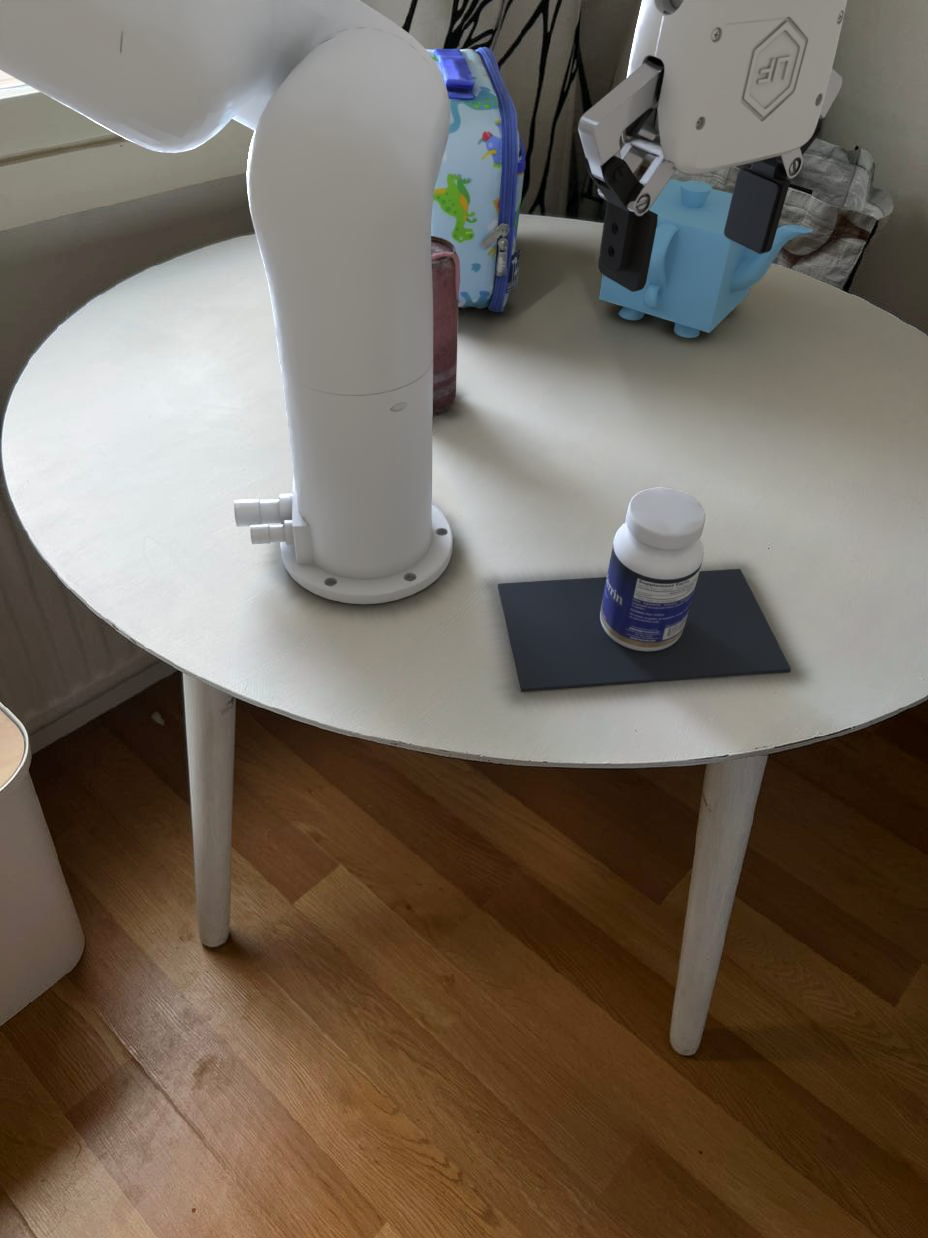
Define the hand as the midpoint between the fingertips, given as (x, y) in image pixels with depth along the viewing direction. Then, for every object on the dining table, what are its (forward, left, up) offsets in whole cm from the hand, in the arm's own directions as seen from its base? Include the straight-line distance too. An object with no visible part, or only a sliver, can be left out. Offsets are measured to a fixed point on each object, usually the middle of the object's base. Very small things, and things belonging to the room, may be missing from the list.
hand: (685, 262), depth 51 cm
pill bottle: (0, -6, -23) cm, 24 cm away
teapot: (+18, +38, -23) cm, 48 cm away
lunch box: (-6, +50, -23) cm, 55 cm away
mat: (0, -6, -23) cm, 24 cm away
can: (-12, +24, -23) cm, 36 cm away
